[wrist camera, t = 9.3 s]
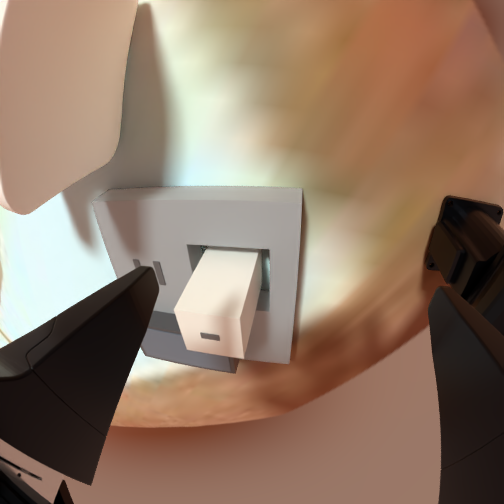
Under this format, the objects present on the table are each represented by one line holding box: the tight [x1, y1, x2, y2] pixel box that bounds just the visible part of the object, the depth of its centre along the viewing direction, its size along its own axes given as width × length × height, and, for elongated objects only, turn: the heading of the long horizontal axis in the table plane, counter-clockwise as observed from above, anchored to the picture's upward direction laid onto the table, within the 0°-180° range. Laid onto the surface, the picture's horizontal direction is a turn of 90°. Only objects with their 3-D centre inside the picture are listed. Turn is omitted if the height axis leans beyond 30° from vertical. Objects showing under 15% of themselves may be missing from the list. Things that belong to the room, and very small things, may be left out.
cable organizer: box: [0, 0, 138, 215], centre depth 11 cm, size 15×11×12 cm
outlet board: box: [92, 186, 302, 364], centre depth 24 cm, size 16×17×3 cm
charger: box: [174, 246, 262, 359], centre depth 20 cm, size 4×4×8 cm
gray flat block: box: [140, 310, 240, 374], centre depth 25 cm, size 10×6×2 cm, turn 92°
